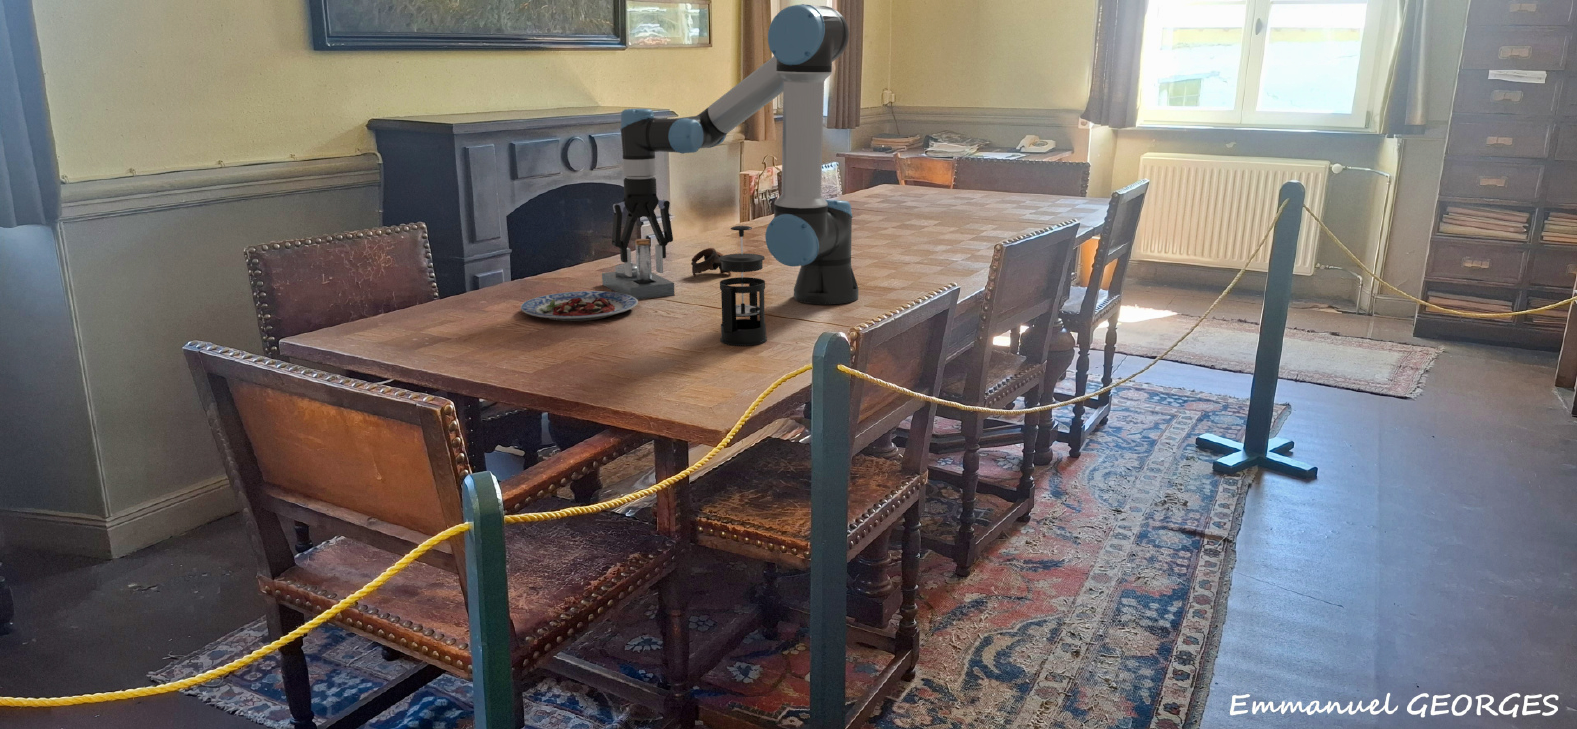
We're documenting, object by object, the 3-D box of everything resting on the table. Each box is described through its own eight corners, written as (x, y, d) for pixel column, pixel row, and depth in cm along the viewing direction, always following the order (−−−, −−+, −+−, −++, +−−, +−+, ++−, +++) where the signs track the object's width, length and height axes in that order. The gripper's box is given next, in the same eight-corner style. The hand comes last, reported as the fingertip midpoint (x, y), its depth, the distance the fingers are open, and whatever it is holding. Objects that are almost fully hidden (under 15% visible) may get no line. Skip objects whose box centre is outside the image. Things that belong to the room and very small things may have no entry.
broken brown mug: (735, 280, 276) (720, 255, 272) (702, 297, 278) (687, 271, 273) (731, 260, 287) (717, 235, 282) (700, 276, 288) (685, 251, 284)
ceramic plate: (655, 303, 251) (655, 290, 251) (609, 330, 228) (608, 316, 227) (555, 297, 258) (554, 285, 257) (499, 323, 234) (498, 309, 233)
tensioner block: (674, 295, 258) (673, 270, 257) (630, 300, 253) (629, 275, 252) (644, 280, 275) (642, 256, 273) (602, 284, 270) (601, 261, 268)
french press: (736, 331, 224) (734, 220, 218) (776, 336, 220) (775, 223, 214) (707, 345, 214) (703, 229, 208) (748, 350, 210) (746, 232, 204)
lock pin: (654, 294, 259) (652, 240, 256) (640, 296, 258) (638, 241, 254) (649, 291, 262) (646, 238, 259) (635, 293, 261) (633, 239, 257)
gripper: (673, 172, 260) (677, 266, 266) (592, 177, 251) (598, 275, 257) (685, 175, 254) (689, 272, 260) (603, 181, 244) (609, 281, 251)
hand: (644, 273), depth 259 cm, fingers open, 7 cm apart
